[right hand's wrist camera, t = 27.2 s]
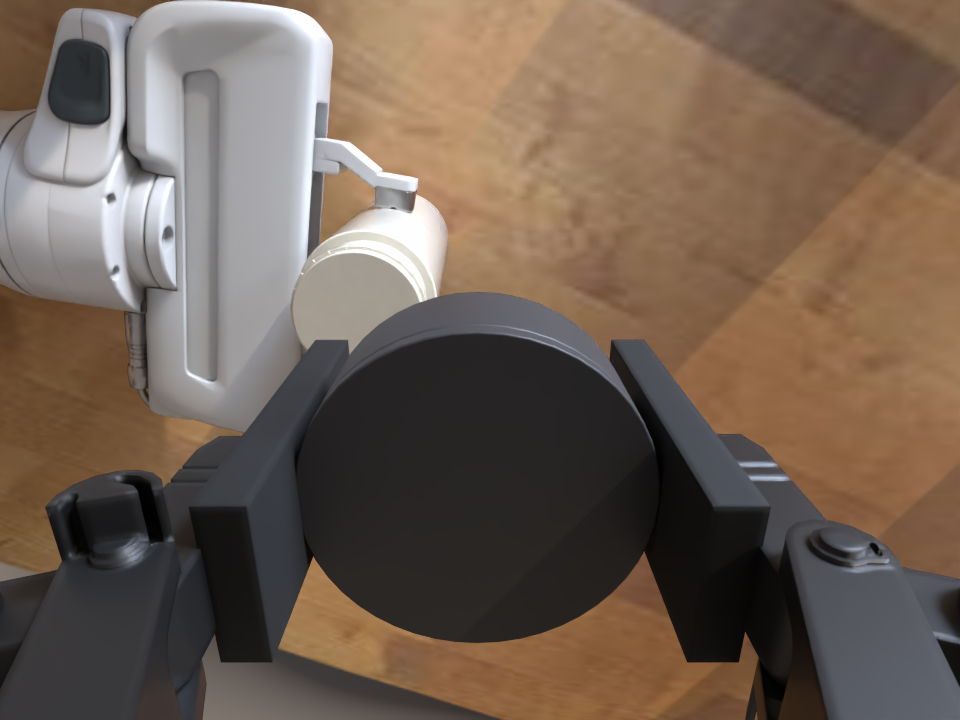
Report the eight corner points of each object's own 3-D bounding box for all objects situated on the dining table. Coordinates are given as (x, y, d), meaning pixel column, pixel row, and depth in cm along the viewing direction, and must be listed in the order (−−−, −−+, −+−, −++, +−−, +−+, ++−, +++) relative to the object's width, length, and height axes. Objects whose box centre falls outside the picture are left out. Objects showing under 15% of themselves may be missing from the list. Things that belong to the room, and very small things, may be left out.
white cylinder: (337, 238, 36) (249, 316, 21) (400, 171, 34) (350, 206, 20) (404, 301, 37) (363, 413, 23) (467, 239, 36) (465, 317, 21)
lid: (340, 558, 13) (312, 643, 11) (312, 290, 11) (272, 331, 9) (614, 558, 13) (641, 643, 11) (642, 290, 11) (683, 332, 9)
